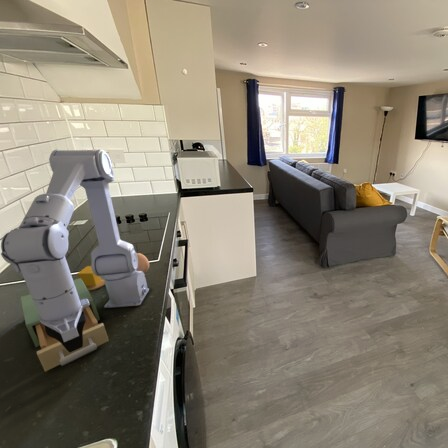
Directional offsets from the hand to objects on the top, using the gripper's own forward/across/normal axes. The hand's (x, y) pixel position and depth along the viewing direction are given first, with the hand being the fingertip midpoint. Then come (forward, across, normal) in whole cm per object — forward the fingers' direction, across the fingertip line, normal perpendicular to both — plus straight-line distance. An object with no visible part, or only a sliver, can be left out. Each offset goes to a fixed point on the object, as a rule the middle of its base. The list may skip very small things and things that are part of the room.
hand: (75, 347), depth 52 cm
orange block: (+8, +40, -9) cm, 42 cm away
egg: (+8, +34, -21) cm, 41 cm away
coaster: (+8, +40, -9) cm, 42 cm away
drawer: (+8, +12, 0) cm, 14 cm away
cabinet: (+8, +26, 0) cm, 27 cm away
